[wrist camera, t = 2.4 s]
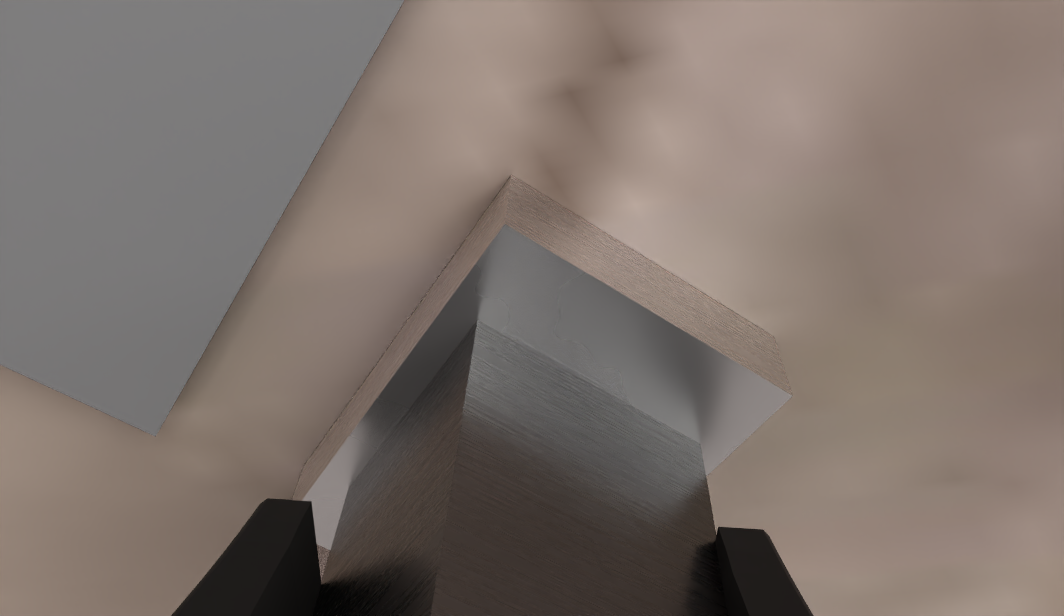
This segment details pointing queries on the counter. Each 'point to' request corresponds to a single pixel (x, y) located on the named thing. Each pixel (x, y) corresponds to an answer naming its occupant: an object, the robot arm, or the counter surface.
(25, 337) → the slate board
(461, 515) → the metal post with plate
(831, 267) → the counter surface
